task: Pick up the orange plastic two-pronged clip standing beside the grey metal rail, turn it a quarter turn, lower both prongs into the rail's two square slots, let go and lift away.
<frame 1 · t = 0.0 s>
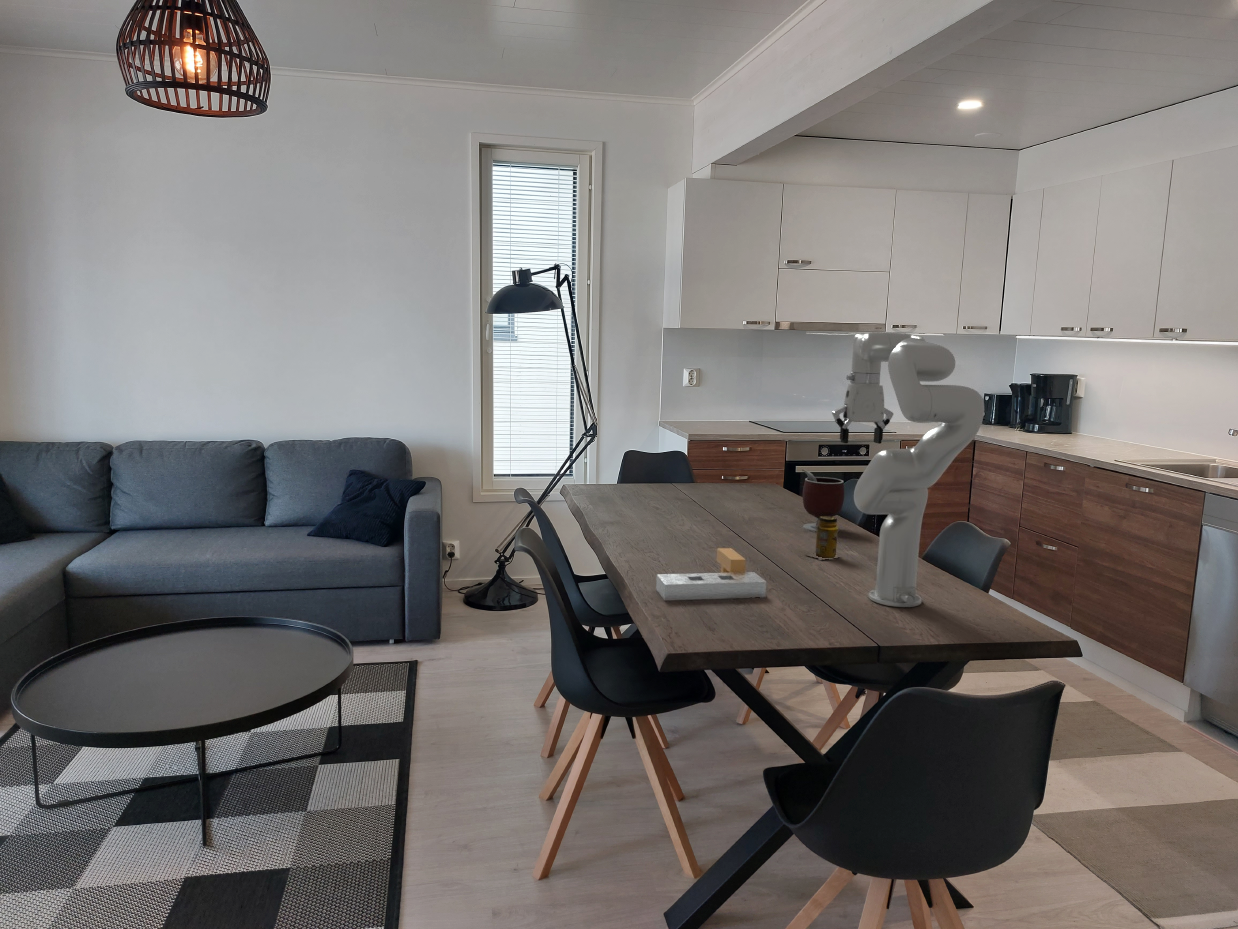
hand: (860, 442, 231), 37 cm above the table, tool pointing down, fingers open, 9 cm apart
mate gourd: (819, 529, 294), on the table
rail: (710, 593, 215), on the table
clip: (729, 579, 228), on the table
condiment: (822, 557, 255), on the table
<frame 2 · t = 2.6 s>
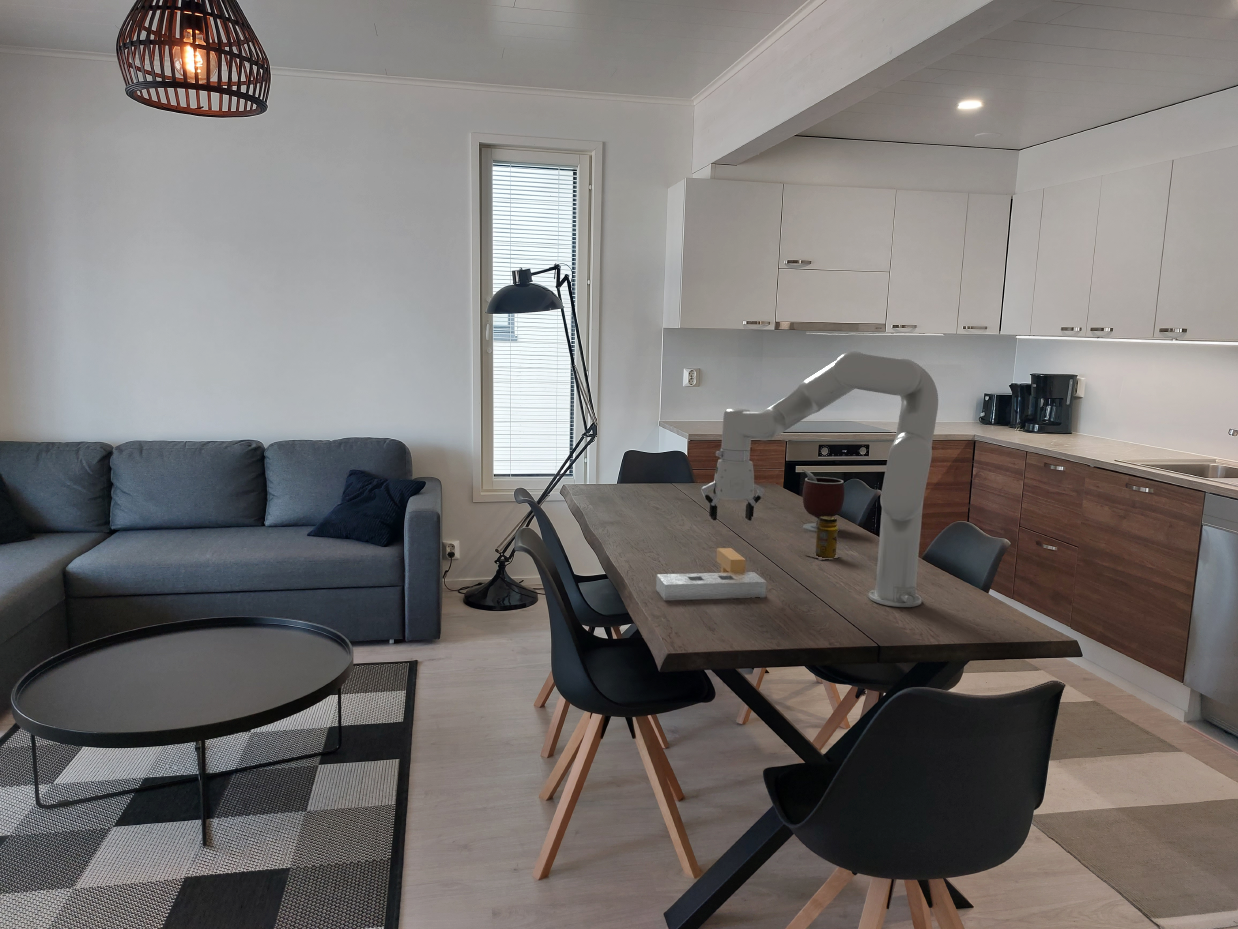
hand: (730, 519, 226), 16 cm above the table, tool pointing down, fingers open, 9 cm apart
nothing on the table moved.
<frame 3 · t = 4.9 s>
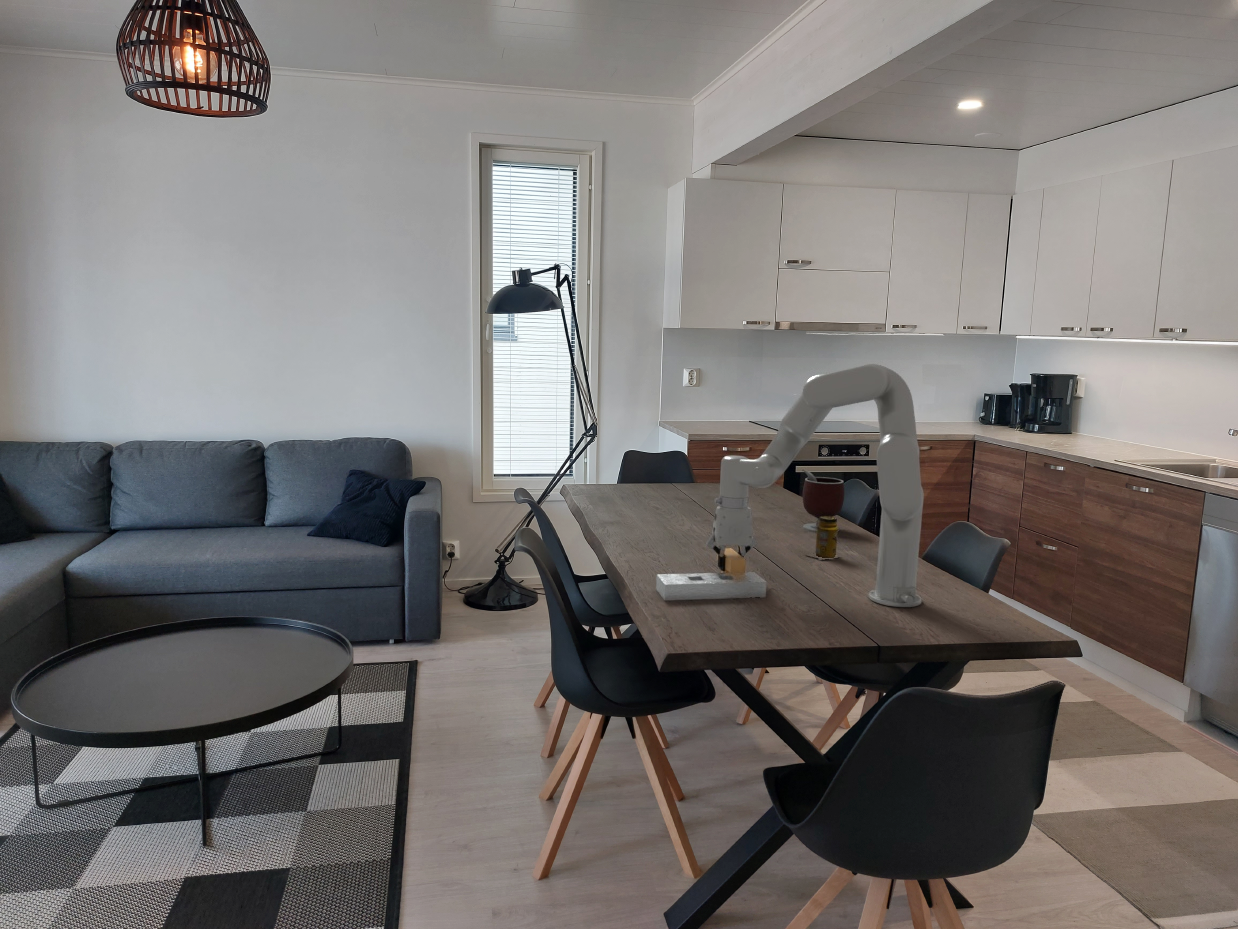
hand: (730, 569, 228), 3 cm above the table, tool pointing down, fingers closed on clip, 4 cm apart
clip: (729, 579, 228), on the table, touching gripper
everything else where it was.
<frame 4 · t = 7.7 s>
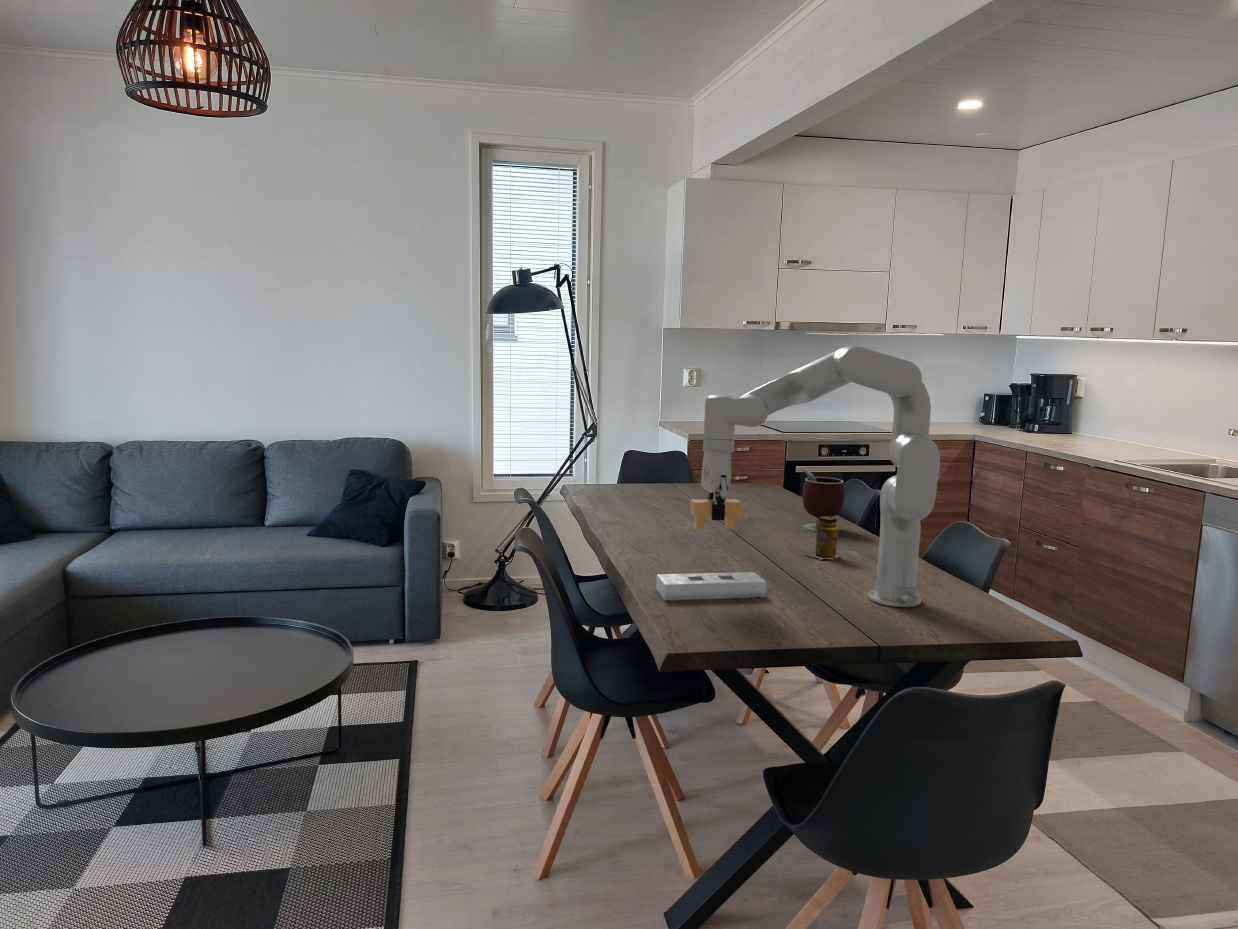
hand: (715, 517, 213), 19 cm above the table, tool pointing down, fingers closed on clip, 4 cm apart
clip: (714, 528, 213), point 17 cm above the table, touching gripper
everything else where it was.
when the fingers open (5 cm above the table, at t = 10.7 s): clip drops 2 cm, resting on rail.
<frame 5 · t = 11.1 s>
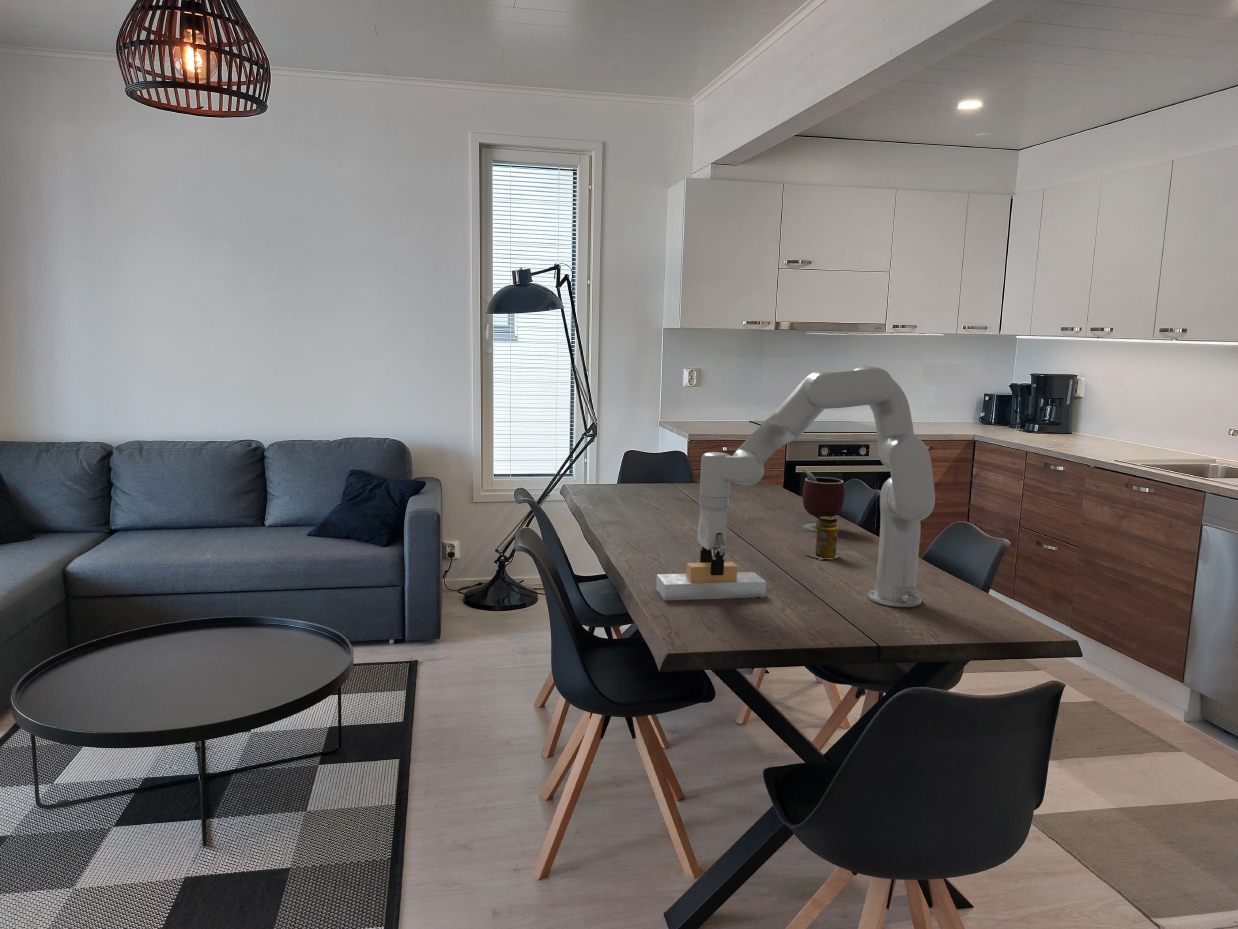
hand: (711, 569, 214), 6 cm above the table, tool pointing down, fingers open, 8 cm apart
clip: (710, 591, 215), resting on rail
everything else where it was.
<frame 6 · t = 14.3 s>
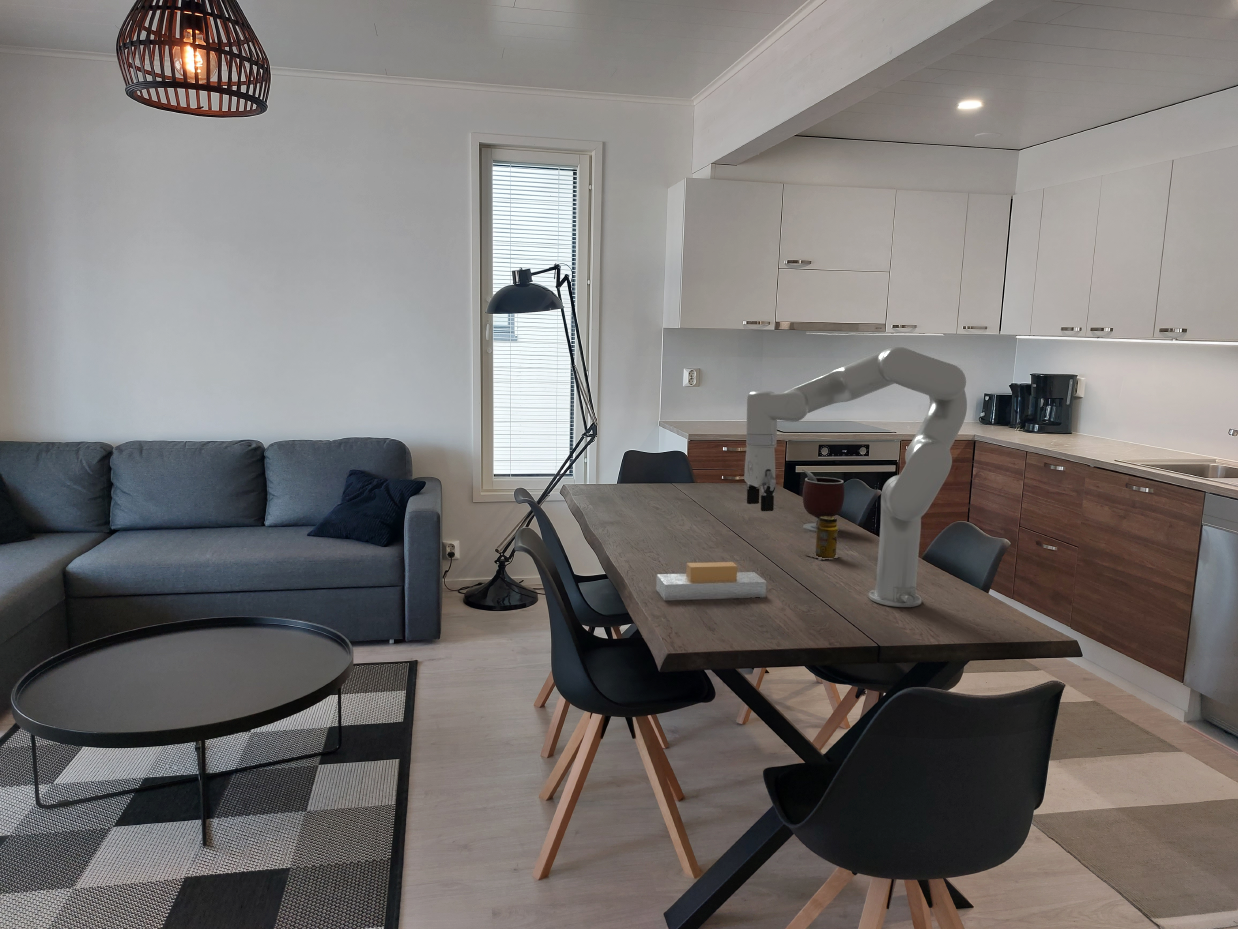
hand: (759, 507, 216), 21 cm above the table, tool pointing down, fingers open, 9 cm apart
nothing on the table moved.
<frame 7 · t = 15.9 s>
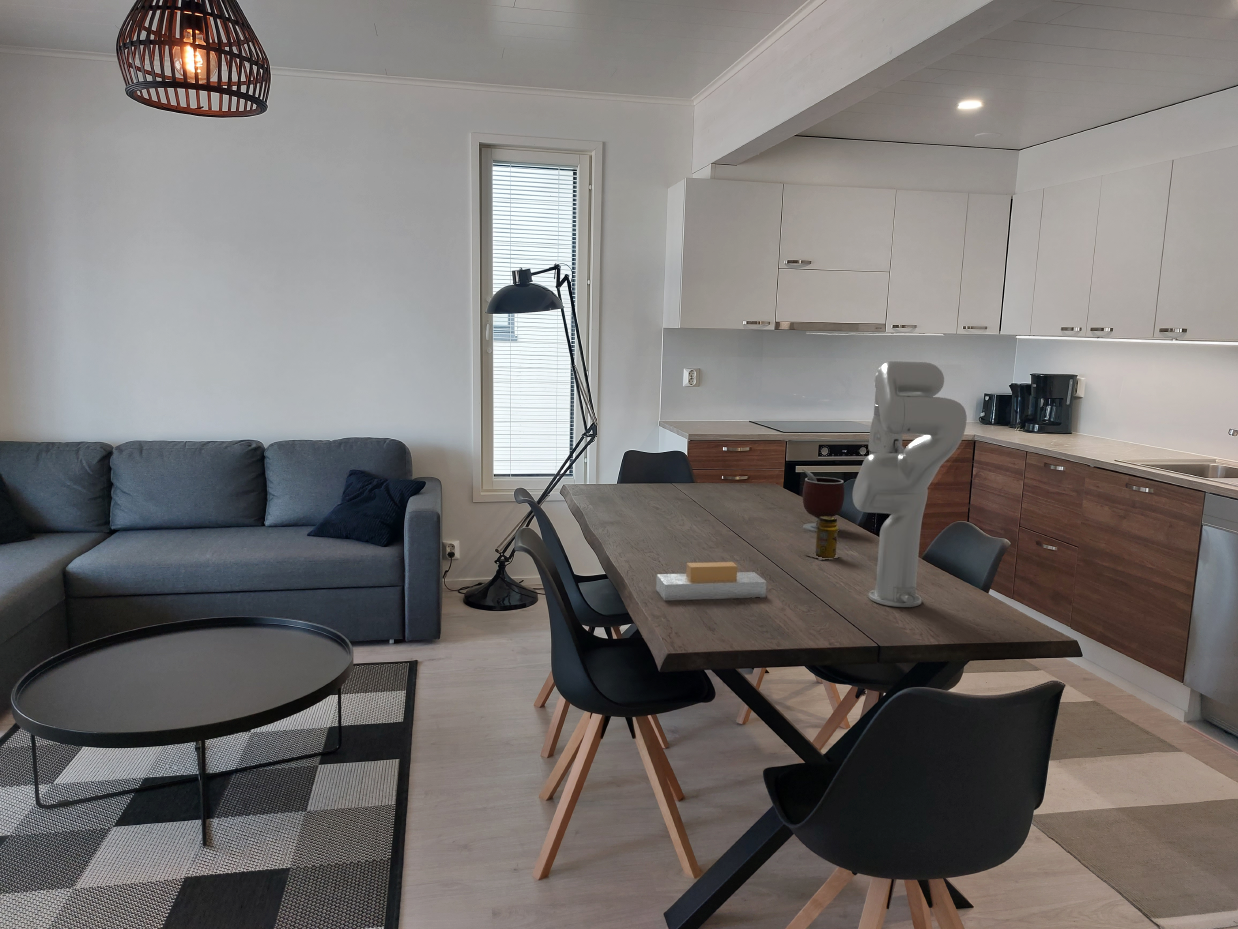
hand: (883, 474, 232), 28 cm above the table, tool pointing down, fingers open, 9 cm apart
nothing on the table moved.
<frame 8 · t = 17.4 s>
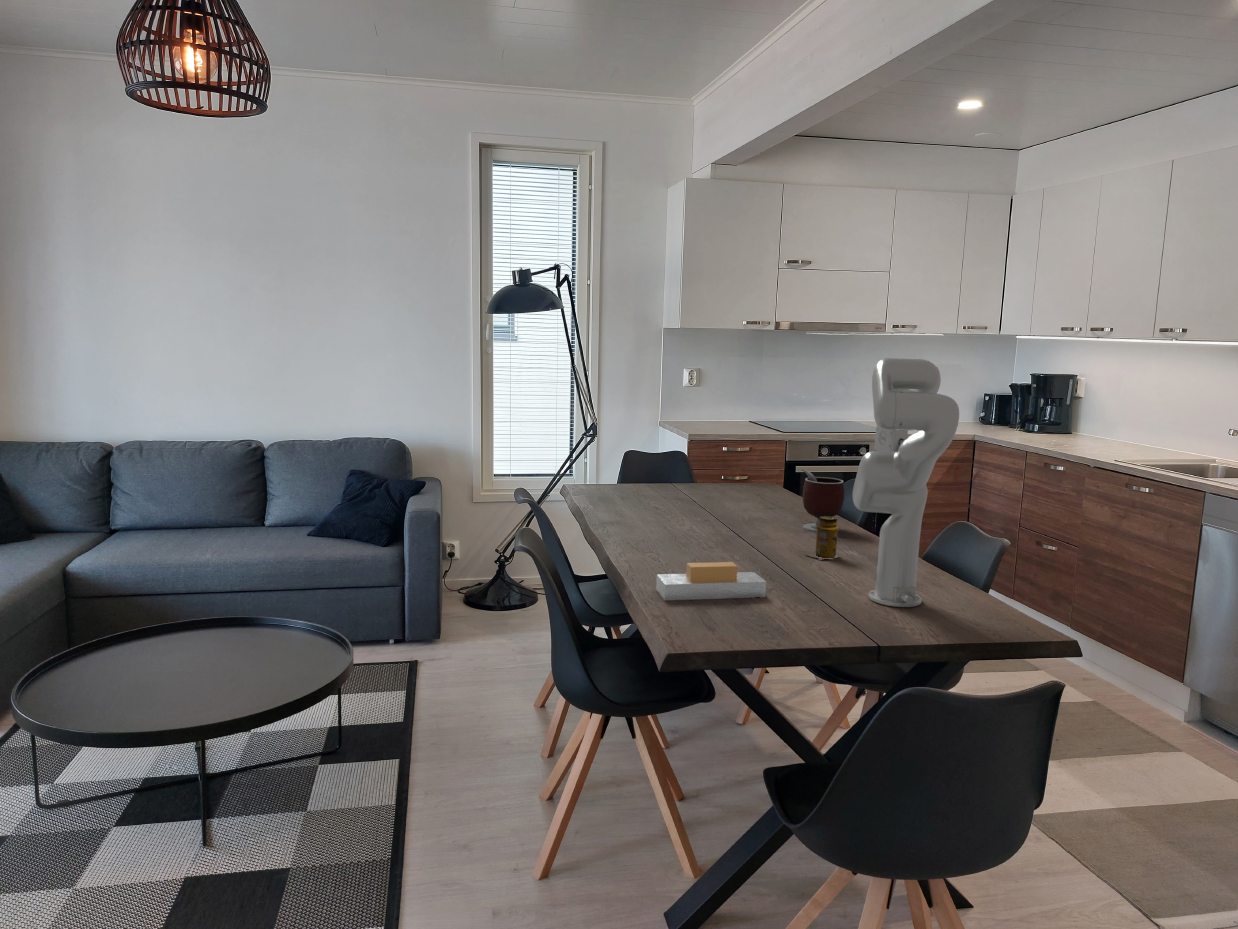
hand: (889, 474, 232), 28 cm above the table, tool pointing down, fingers open, 9 cm apart
nothing on the table moved.
at the end: clip 0.1 cm off-centre on the rail, point 0.5 cm above the rail's base; clip tilted 0°; the gripper is holding nothing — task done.
